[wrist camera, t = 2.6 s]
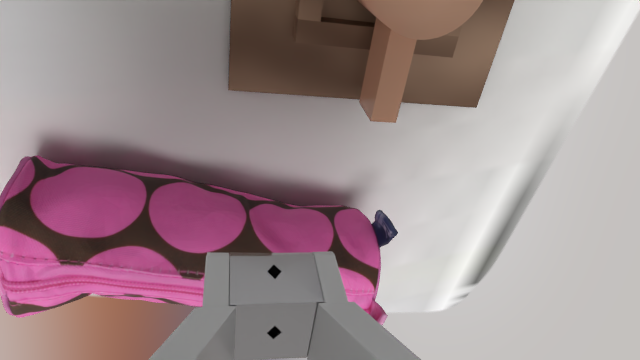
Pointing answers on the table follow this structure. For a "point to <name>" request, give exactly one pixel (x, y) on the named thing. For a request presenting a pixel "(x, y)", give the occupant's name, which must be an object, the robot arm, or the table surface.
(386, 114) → the toggle lever handle
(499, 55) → the table surface
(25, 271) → the pencil case
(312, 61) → the socket board
